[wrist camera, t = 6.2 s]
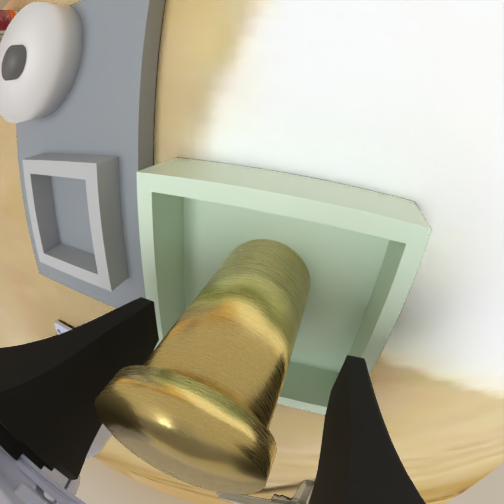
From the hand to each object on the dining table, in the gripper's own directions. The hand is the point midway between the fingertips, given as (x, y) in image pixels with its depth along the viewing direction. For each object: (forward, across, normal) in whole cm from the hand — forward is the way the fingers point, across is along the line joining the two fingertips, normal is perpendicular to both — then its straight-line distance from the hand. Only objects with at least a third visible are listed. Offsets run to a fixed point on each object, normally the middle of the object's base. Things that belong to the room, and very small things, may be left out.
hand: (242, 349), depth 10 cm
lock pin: (+4, 0, 0) cm, 4 cm away
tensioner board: (+5, +12, -5) cm, 14 cm away
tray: (+5, 0, 0) cm, 5 cm away
